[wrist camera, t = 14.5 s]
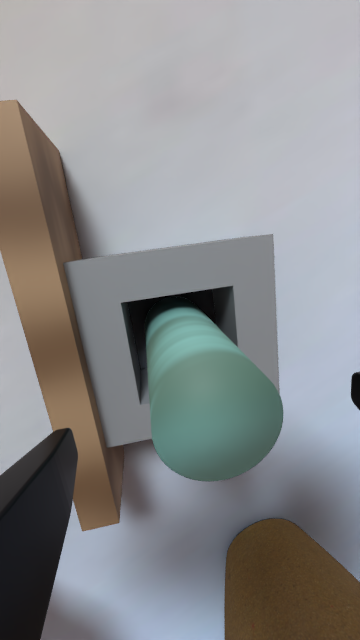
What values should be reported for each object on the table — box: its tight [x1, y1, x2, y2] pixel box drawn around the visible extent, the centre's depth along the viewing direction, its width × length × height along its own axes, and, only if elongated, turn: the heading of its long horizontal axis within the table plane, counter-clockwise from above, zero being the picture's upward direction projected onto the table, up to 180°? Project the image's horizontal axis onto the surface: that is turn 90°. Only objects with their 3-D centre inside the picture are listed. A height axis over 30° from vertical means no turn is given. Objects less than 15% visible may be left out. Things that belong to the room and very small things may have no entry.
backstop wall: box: [0, 100, 124, 531], centre depth 15 cm, size 20×2×6 cm, turn 7°
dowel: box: [145, 296, 283, 481], centre depth 14 cm, size 4×4×11 cm
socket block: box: [63, 234, 279, 448], centre depth 17 cm, size 10×10×4 cm
